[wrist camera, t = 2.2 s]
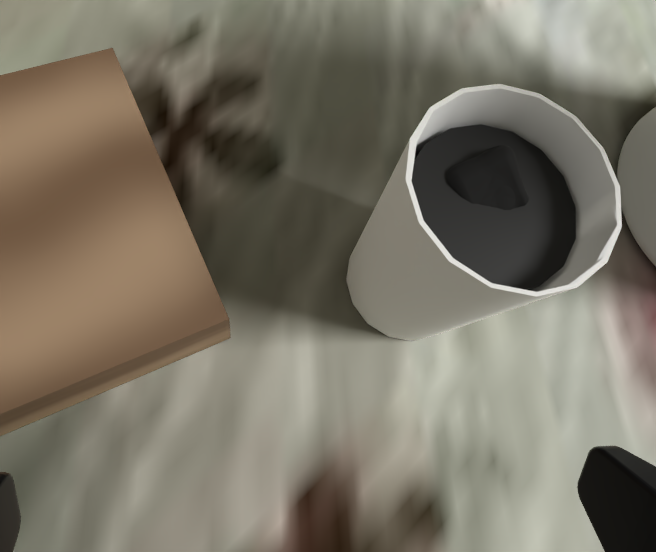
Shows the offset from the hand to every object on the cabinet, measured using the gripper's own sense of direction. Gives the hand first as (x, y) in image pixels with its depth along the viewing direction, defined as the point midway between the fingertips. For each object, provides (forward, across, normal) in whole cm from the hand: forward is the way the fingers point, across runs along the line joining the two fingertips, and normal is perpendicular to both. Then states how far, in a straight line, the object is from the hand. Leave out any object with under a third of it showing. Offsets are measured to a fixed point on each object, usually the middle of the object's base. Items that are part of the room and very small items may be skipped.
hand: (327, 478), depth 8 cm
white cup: (+15, -6, +3) cm, 17 cm away
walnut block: (+15, +10, +3) cm, 18 cm away
